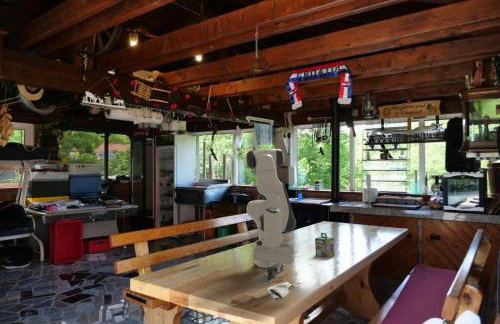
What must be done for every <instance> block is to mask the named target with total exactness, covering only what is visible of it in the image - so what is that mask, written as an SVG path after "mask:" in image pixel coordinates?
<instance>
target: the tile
mask: <svg viewBox="0 0 500 324" xmlns="http://www.w3.org/2000/svg"><path fill="white" fill-rule="evenodd" d="M253 300H255V296H254V295H249V294H246V293H240V294H238V295H236V296H235V297H233V298H231V301H230V302H231V303H234V304H239V305H243V306H246V305H247V304H249V303H250V302H251V301H253Z"/></svg>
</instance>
